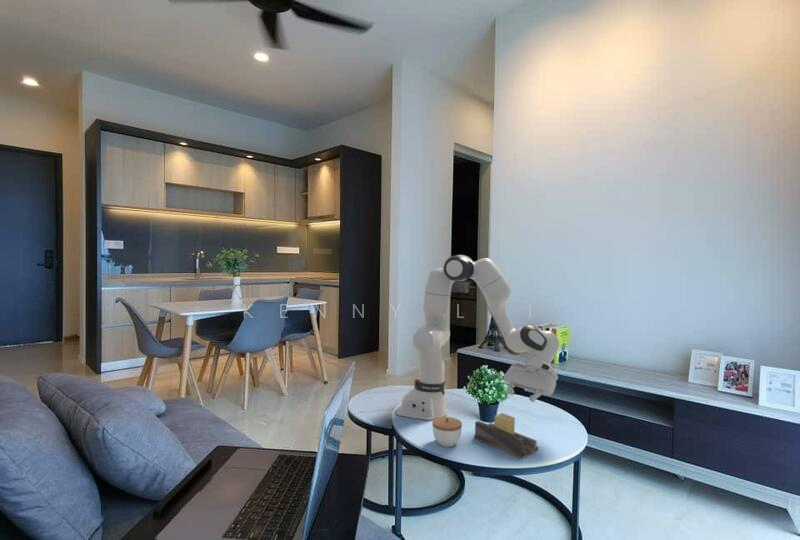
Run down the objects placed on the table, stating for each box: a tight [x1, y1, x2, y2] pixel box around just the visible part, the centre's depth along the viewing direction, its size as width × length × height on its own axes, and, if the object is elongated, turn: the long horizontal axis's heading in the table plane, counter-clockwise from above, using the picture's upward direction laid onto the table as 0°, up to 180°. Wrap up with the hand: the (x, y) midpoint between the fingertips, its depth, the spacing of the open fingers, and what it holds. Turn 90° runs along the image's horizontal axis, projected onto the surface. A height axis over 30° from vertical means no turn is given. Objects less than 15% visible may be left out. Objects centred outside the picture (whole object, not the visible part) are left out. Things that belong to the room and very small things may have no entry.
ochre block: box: [493, 413, 516, 435], centre depth 148 cm, size 4×6×9 cm
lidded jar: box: [431, 416, 463, 448], centre depth 148 cm, size 11×11×9 cm
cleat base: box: [473, 420, 539, 459], centre depth 148 cm, size 11×20×6 cm, turn 39°
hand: (520, 397), depth 154 cm, fingers open, 8 cm apart
